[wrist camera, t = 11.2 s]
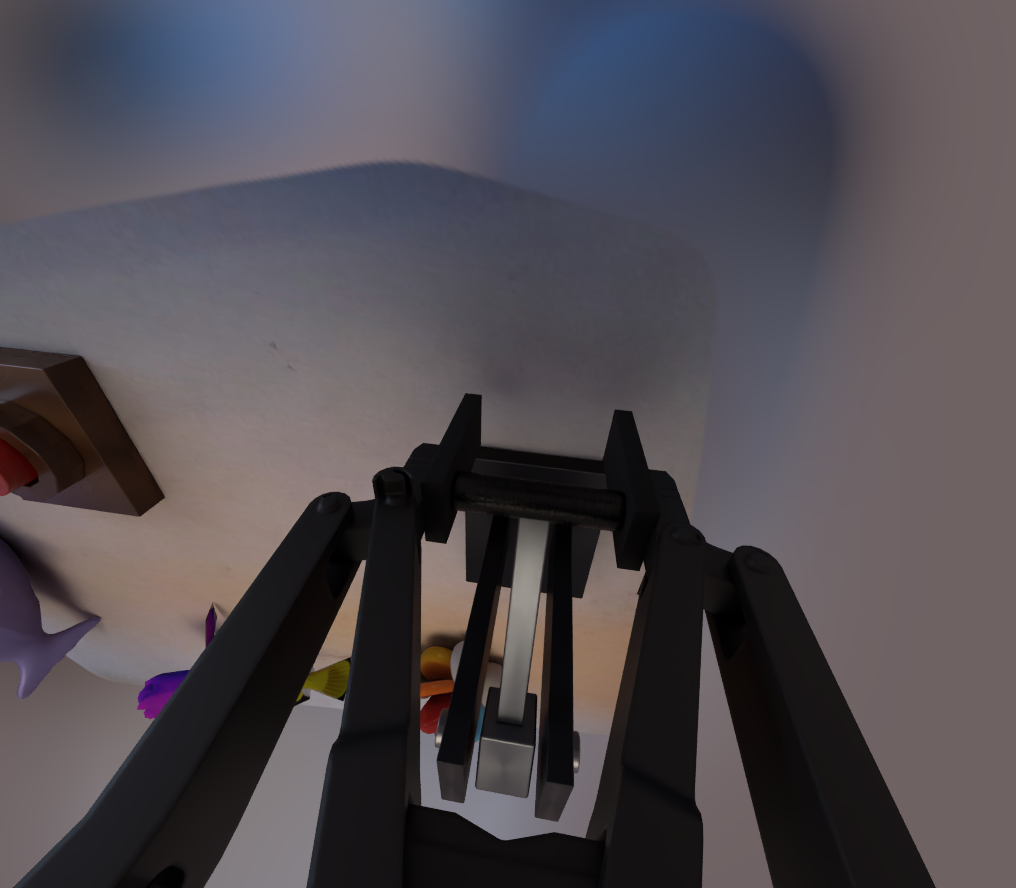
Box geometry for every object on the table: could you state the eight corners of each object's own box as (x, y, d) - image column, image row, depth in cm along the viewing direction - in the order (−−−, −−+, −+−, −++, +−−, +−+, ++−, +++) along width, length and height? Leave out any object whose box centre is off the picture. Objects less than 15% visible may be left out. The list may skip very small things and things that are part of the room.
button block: (-57, 340, 25) (-151, 363, 22) (81, 355, 24) (4, 382, 21) (54, 482, 32) (-6, 516, 29) (165, 497, 31) (117, 534, 28)
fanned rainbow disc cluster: (465, 623, 35) (444, 712, 29) (524, 675, 39) (516, 763, 33) (401, 643, 39) (370, 726, 33) (460, 688, 43) (443, 770, 37)
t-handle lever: (463, 462, 15) (447, 482, 13) (618, 481, 15) (631, 505, 12) (444, 726, 18) (429, 780, 16) (571, 748, 18) (575, 809, 15)
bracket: (469, 444, 24) (367, 705, 12) (613, 461, 24) (661, 757, 11) (469, 568, 31) (404, 816, 19) (581, 584, 30) (590, 853, 18)
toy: (152, 605, 38) (72, 720, 30) (354, 596, 41) (331, 698, 33) (194, 663, 45) (137, 771, 37) (365, 652, 48) (348, 749, 40)
